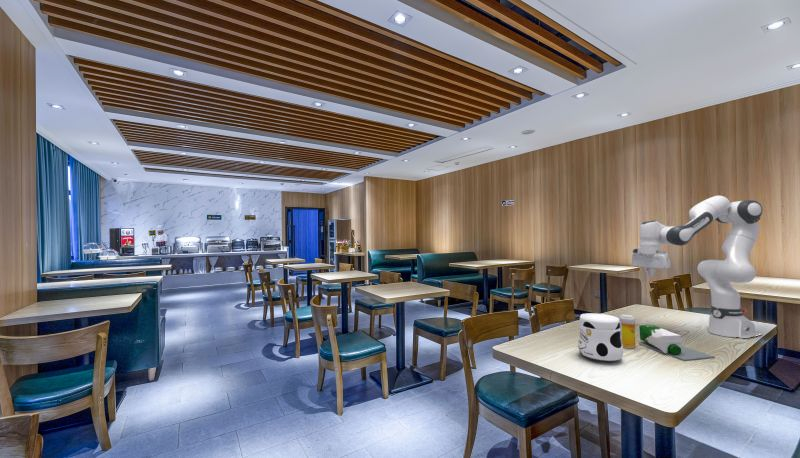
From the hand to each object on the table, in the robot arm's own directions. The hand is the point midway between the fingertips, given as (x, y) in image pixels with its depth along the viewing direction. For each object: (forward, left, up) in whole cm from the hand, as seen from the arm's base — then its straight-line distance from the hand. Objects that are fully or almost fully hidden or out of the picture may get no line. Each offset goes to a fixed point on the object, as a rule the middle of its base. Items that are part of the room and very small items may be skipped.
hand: (650, 275), depth 185 cm
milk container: (+53, +24, -31) cm, 66 cm away
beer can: (+30, +15, -31) cm, 46 cm away
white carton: (+15, +11, -26) cm, 32 cm away
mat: (+14, +24, -31) cm, 42 cm away
